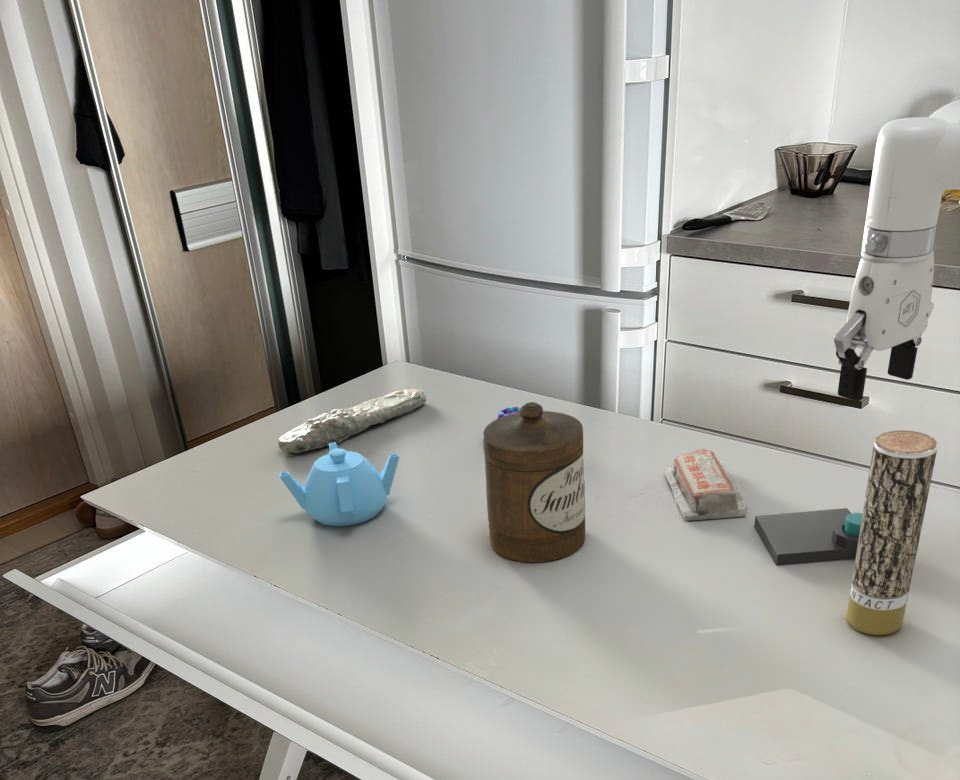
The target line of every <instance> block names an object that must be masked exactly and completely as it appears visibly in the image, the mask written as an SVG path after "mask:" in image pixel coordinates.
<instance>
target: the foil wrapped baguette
mask: <svg viewBox="0 0 960 780" xmlns="http://www.w3.org/2000/svg"><path fill="white" fill-rule="evenodd" d="M426 402H427V395H425V393H424V391H423V388H410V389H403V390H402V389H401V390H395V391H393V392H389V393H387V394H385V395H383V396H378V397H376V398H373V399H370V400H367V401H364V402H362V403H360V404H357V405H355V406H353V407H349V408H348V407H347V408H334V409H332V410H331V411H326V412H324V413H322V414H320V415H318V416H316V417H314V418H311V419H307V420H306V421H305V422H304V423H303V424H300V425H298V426H296V427H295V428H292V429H291V430H289V431H287V432H286V433H284V434H282V435H281V436H279V438H278V441H277V442H278V448H279V449H280V450H281V451H282V452H286V453H294V454H299V453H303V452H307V451H311V450H317V449H322V448H324V447H327V446H328V447H329V443H334V442H336V444H342V442H343V441H344V440H348V438H350V437H352V436H354V435H358V434H359V433H361V432H364V431H365V430H367V429H368V428H370V427H371V426H372V425H377V424H383V423H385V422H386V421H387V420H390V419H393V418H395V417H400V416H403V415H406V414H409V413H411V412H413V411H414V410H415V409H417V408H421V406H422V405H424V404H425V403H426Z"/></svg>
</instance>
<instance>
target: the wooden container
mask: <svg viewBox="0 0 960 780" xmlns="http://www.w3.org/2000/svg"><path fill="white" fill-rule="evenodd" d="M519 408H520V412H519V413H514V414H511V415H507V416H503V417H501V418H498V419H497V418H496V419H494V420H492V421H491V422H489V424H487V425H486V426H485V428H484V429H483V432H482V433H483V435H482V445H483V453H484V467H485V468H484V471H485V490H486V493H485V494H486V509H487V510H486V511H487V521H488V534H489V543H490V547H491V548H492V550H493V551H494V552H495V553H497V554H498V555H499V556H501V557H504V558H506V559H509V560H512V561H518V562H523V563H543V562H551V561H556V560H559V559H563V558H565V557H567V556H571V554H574V553H575V552H577V551H578V550H579V549H580V548H581V547H582V546H583V545H584V543H585V540H586V487H585V486H586V481H585V460H584V459H585V458H584V427H583V424H582V423H581V421H580V420H579V419H577V418H576V417H575V416H572V415H569V414H567V413H563V412H557V411H550V410H544V408H543V406H542V405H541V404H540V403H538V402H534V401H531V402H530V401H529V402H526V403H524V404H523V405H522V406H521V407H519Z"/></svg>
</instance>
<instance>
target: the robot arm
mask: <svg viewBox="0 0 960 780" xmlns="http://www.w3.org/2000/svg"><path fill="white" fill-rule="evenodd" d="M869 186H870V187H869V195H868V202H867V207H866V208H867V209H866V216H865V224H864V230H863V238H862V245H861V252H860V256H861V258H860V261H859V263H858V268H857V271H856V273H855V277H854V282H853V286H852V291H851V296H850V300H849V306H848V310H847V316H846V317H847V318H846V323H845V324H844V325H843V326H842V327H841V329H839V331H838V332H836V334H835V335H834V337H833V342H834V346H835V355H836V357H837V359H838V364H839V365H840V366H841V367H840V373H839V380H838V385H837V387H838V388H837V395H838V396H839V397H842V398H844V399H848V400H852V401H855V402H859V401H862V400H863V398H864V393H865V391H864V390H865V385H866V378H867V371H868V368H867V367H865V365H866V363H867V361H868V359H869V358H870V356H871V355H872V352H873V351H877V352H883V351H886V350H889V349H890V354H889V359H888V368H887V374H888V376H891V377H895V378H899V379H903V380H911V379H913V375H914V371H915V367H916V366H915V365H916V360H917V354H918V347H919V346H921V343H922V340H923V337H922V335H923V334H924V333H925V332H926V330H927V328H928V322H929V319H930V316H931V314H932V311H933V309H934V307H935V306H934V302H933V301H932V295H933V287H934V286H933V285H934V284H933V283H934V274H935V273H934V272H935V254H934V249H933V248H934V243H935V236H936V230H937V227H938V220H939V213H940V209H941V203H942V197H943V192H944V191H947V190H952V191H953V190H958V191H960V99H957V100H954V101H952V102H949V103H947V104H945V105H943V106H941V107H940V108H938V109H936V110H935V111H934V112H932V114H930V115H929V116H927V117H926V116H917V117H904V118H903V117H902V118H898V119H894V120H891V121H888V122H887V123H885V124H884V125H883V126H882V127H881V128H880V130H879V132H878V134H877V139H876V144H875V151H874V159H873V165H872V172H871V180H870V185H869ZM857 348H858V349H861V350H860V352H859V355H858V354H857V353H856V351H855V350H856V349H857Z"/></svg>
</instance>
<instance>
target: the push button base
mask: <svg viewBox="0 0 960 780" xmlns="http://www.w3.org/2000/svg"><path fill="white" fill-rule="evenodd" d="M849 514H852V512H851V511H850V509H849V508H848V507H844V508H834V509H833V508H831V509H819V510H809V511H798V512H796V511H795V512H787V513H774V514H773V513H772V514H762V515H755V516H754V524H753V526H754V529H755V531H756V532H757V534H758V536H759V538H760V540H761V541H762V543H763V545H764V547H765V548H766V550H767V552H768V553H769V555H770V557H771V559H772V561H773V563H774V564H775V566H778V567H779V566H790V565H803V564H812V563H813V564H814V563H824V562H825V563H826V562H837V561H849V560H855V559H856V553H857V546H858V540H859V536H853V535H849V534H847V533H845V531H844V528H845V521H846V517H847V515H849Z"/></svg>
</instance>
